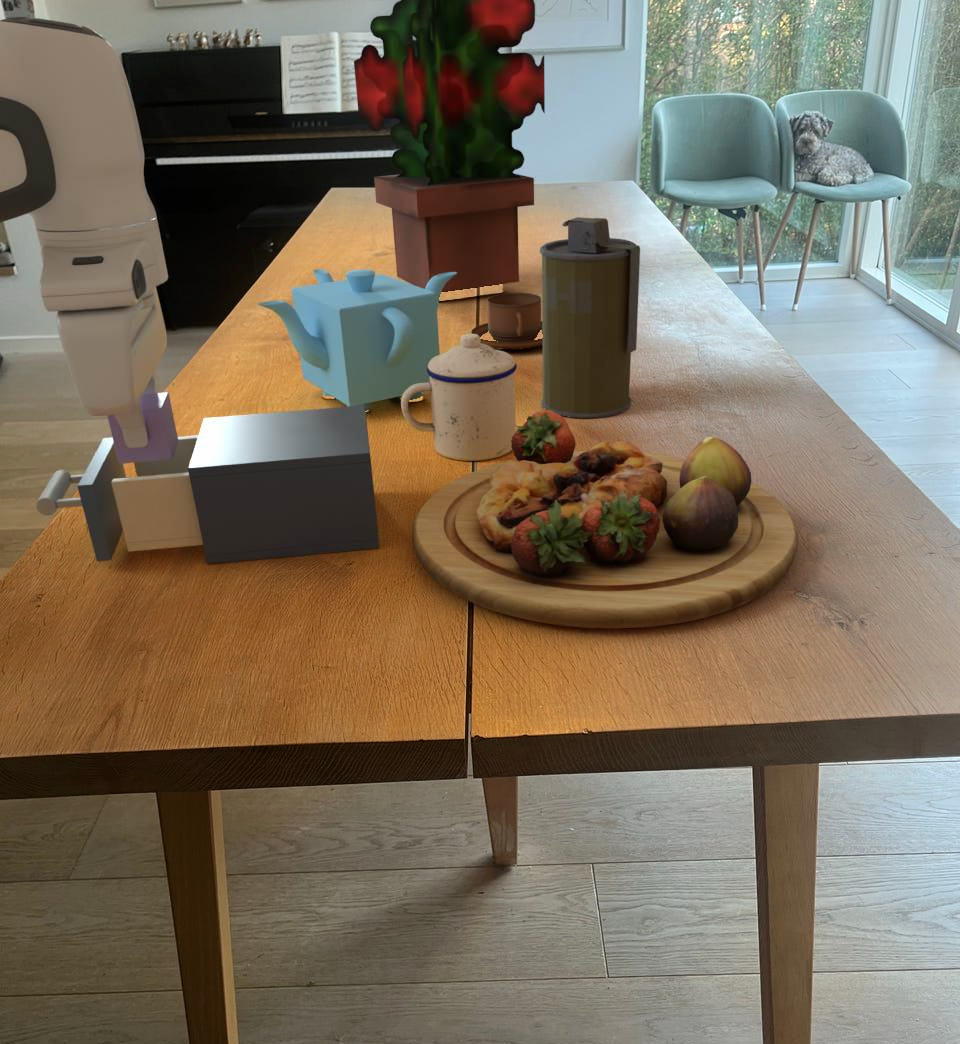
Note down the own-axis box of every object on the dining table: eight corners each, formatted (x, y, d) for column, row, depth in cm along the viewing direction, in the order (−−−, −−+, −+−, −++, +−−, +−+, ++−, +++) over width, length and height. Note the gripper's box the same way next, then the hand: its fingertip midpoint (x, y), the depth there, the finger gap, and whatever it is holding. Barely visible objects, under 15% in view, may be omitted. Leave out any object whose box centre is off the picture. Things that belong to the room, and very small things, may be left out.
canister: (523, 410, 117) (520, 224, 107) (570, 385, 124) (571, 209, 114) (607, 425, 112) (612, 231, 101) (650, 398, 119) (659, 215, 109)
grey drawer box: (206, 564, 86) (187, 468, 82) (219, 505, 97) (203, 417, 92) (379, 548, 87) (370, 452, 83) (373, 492, 98) (364, 405, 94)
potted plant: (490, 271, 184) (480, -25, 161) (545, 295, 167) (543, -34, 144) (374, 287, 177) (346, -21, 154) (419, 313, 160) (395, -31, 136)
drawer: (42, 566, 85) (20, 490, 81) (71, 512, 95) (52, 442, 91) (259, 546, 86) (247, 471, 83) (266, 495, 96) (255, 425, 93)
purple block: (118, 464, 85) (106, 412, 83) (127, 445, 89) (115, 396, 86) (172, 459, 85) (161, 408, 83) (178, 441, 89) (168, 392, 87)
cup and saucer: (574, 347, 139) (574, 301, 136) (495, 361, 135) (494, 313, 132) (532, 328, 148) (531, 285, 145) (457, 341, 144) (455, 296, 141)
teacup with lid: (507, 428, 112) (504, 320, 106) (527, 457, 104) (525, 342, 98) (399, 440, 110) (390, 331, 104) (411, 470, 102) (402, 354, 97)
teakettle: (422, 426, 114) (413, 290, 106) (267, 418, 118) (248, 287, 111) (465, 376, 130) (459, 255, 122) (327, 371, 134) (313, 253, 126)
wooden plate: (410, 482, 100) (404, 400, 96) (731, 461, 101) (739, 379, 97) (417, 652, 72) (408, 547, 68) (857, 621, 74) (875, 515, 69)
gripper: (90, 241, 87) (126, 399, 95) (32, 293, 70) (81, 481, 77) (165, 236, 88) (195, 393, 95) (126, 286, 71) (166, 473, 78)
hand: (144, 433), depth 86 cm, fingers closed on purple block, 4 cm apart
